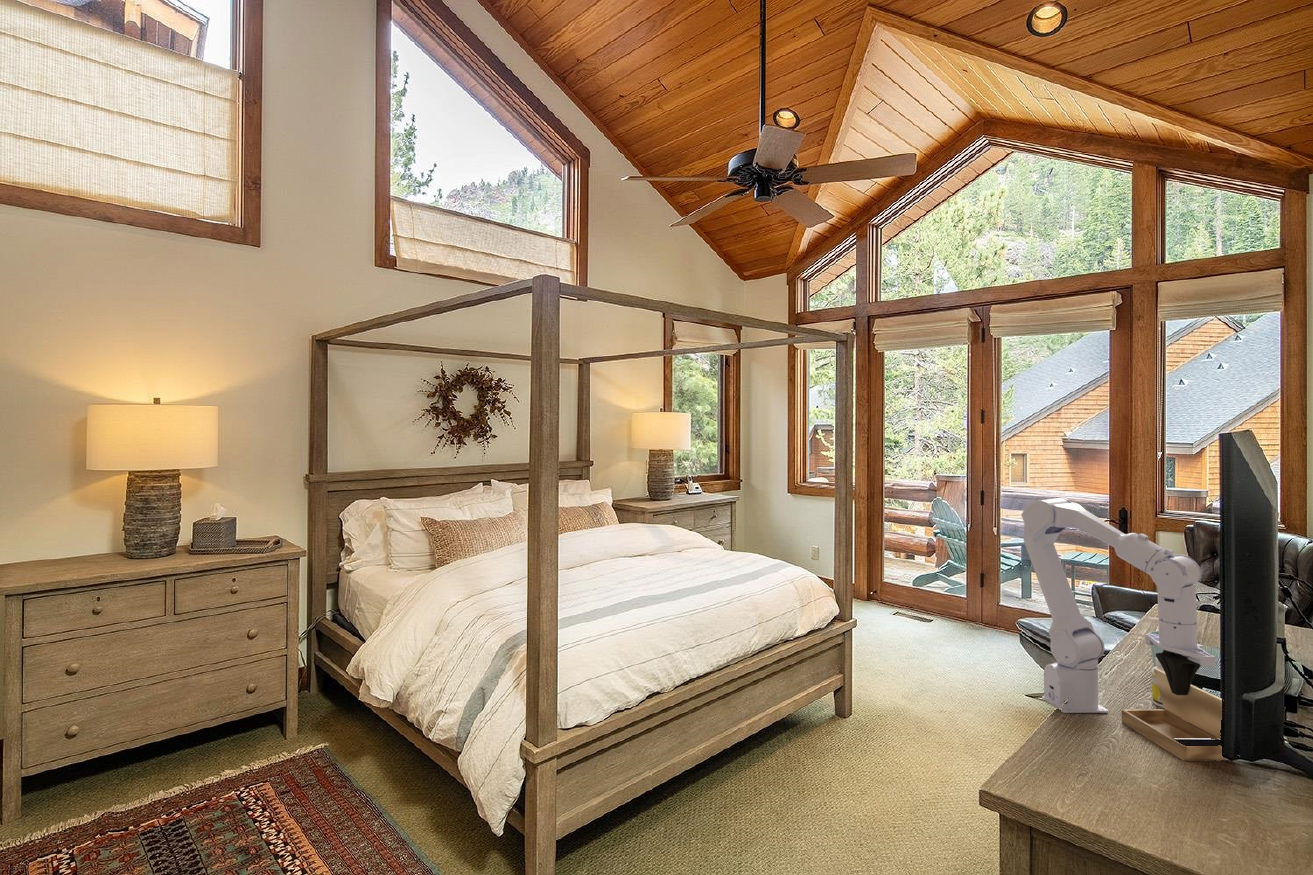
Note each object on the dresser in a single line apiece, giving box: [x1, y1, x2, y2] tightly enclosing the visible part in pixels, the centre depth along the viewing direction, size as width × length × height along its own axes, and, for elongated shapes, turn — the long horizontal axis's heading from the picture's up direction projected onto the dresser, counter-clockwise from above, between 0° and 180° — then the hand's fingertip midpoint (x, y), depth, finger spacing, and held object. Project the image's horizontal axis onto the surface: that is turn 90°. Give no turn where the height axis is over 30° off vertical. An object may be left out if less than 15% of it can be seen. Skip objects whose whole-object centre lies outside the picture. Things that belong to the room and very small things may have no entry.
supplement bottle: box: [1151, 658, 1165, 709], centre depth 140 cm, size 5×5×10 cm
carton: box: [1121, 708, 1224, 762], centre depth 125 cm, size 8×16×2 cm, turn 179°
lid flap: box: [1152, 667, 1223, 740], centre depth 125 cm, size 8×16×1 cm
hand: (1179, 693), depth 124 cm, fingers closed, pressing on lid flap
